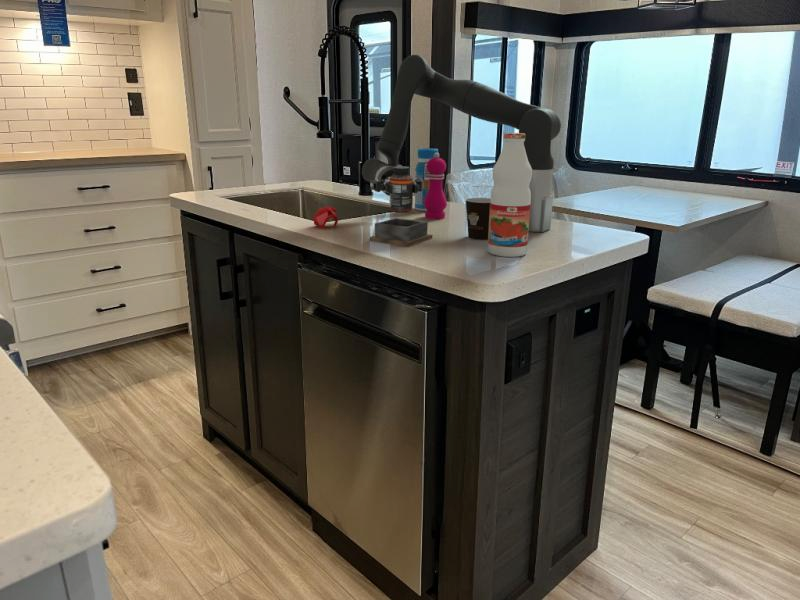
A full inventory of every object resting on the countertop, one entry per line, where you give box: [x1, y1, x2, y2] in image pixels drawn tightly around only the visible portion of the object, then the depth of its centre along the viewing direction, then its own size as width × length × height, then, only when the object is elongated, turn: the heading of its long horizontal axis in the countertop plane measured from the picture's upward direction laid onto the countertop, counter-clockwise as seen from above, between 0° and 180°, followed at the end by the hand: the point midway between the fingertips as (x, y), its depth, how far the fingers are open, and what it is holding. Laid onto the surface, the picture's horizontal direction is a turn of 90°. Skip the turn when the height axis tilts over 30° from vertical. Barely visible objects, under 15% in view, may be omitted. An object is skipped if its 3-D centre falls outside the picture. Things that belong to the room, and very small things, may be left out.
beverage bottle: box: [414, 147, 439, 212], centre depth 205 cm, size 8×8×20 cm
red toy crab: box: [313, 206, 339, 229], centre depth 176 cm, size 8×6×6 cm
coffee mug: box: [465, 197, 491, 241], centre depth 163 cm, size 12×9×10 cm
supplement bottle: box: [389, 165, 414, 214], centre depth 158 cm, size 6×6×11 cm
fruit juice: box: [487, 132, 532, 258], centre depth 144 cm, size 9×9×28 cm
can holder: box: [369, 217, 433, 248], centre depth 161 cm, size 12×12×4 cm
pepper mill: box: [424, 152, 448, 220], centre depth 191 cm, size 7×7×20 cm
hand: (403, 189), depth 156 cm, fingers closed on supplement bottle, 6 cm apart
